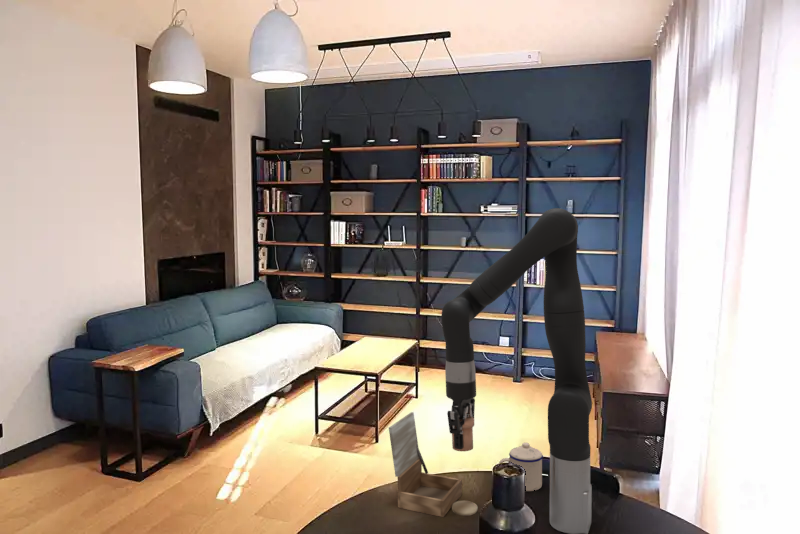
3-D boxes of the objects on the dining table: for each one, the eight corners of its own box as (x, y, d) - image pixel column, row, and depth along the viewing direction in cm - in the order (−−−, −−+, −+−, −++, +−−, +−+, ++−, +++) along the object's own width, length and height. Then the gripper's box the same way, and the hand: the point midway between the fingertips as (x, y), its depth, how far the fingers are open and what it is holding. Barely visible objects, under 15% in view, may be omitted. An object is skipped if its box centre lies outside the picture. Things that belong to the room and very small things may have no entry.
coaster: (480, 506, 148) (480, 503, 148) (472, 517, 143) (472, 514, 143) (457, 501, 151) (457, 498, 151) (448, 512, 145) (448, 509, 145)
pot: (478, 444, 148) (477, 416, 147) (470, 453, 142) (469, 424, 142) (455, 442, 150) (454, 414, 150) (446, 450, 145) (445, 421, 145)
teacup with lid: (540, 478, 165) (540, 438, 164) (545, 492, 156) (545, 450, 155) (497, 477, 166) (497, 437, 165) (499, 491, 157) (499, 449, 156)
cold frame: (461, 494, 156) (461, 418, 154) (443, 517, 143) (442, 435, 142) (411, 484, 162) (410, 411, 161) (389, 505, 150) (388, 427, 148)
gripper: (465, 386, 137) (467, 456, 138) (483, 372, 150) (485, 437, 151) (435, 383, 141) (438, 452, 141) (456, 370, 154) (458, 434, 154)
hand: (462, 444), depth 146 cm, fingers closed on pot, 5 cm apart
